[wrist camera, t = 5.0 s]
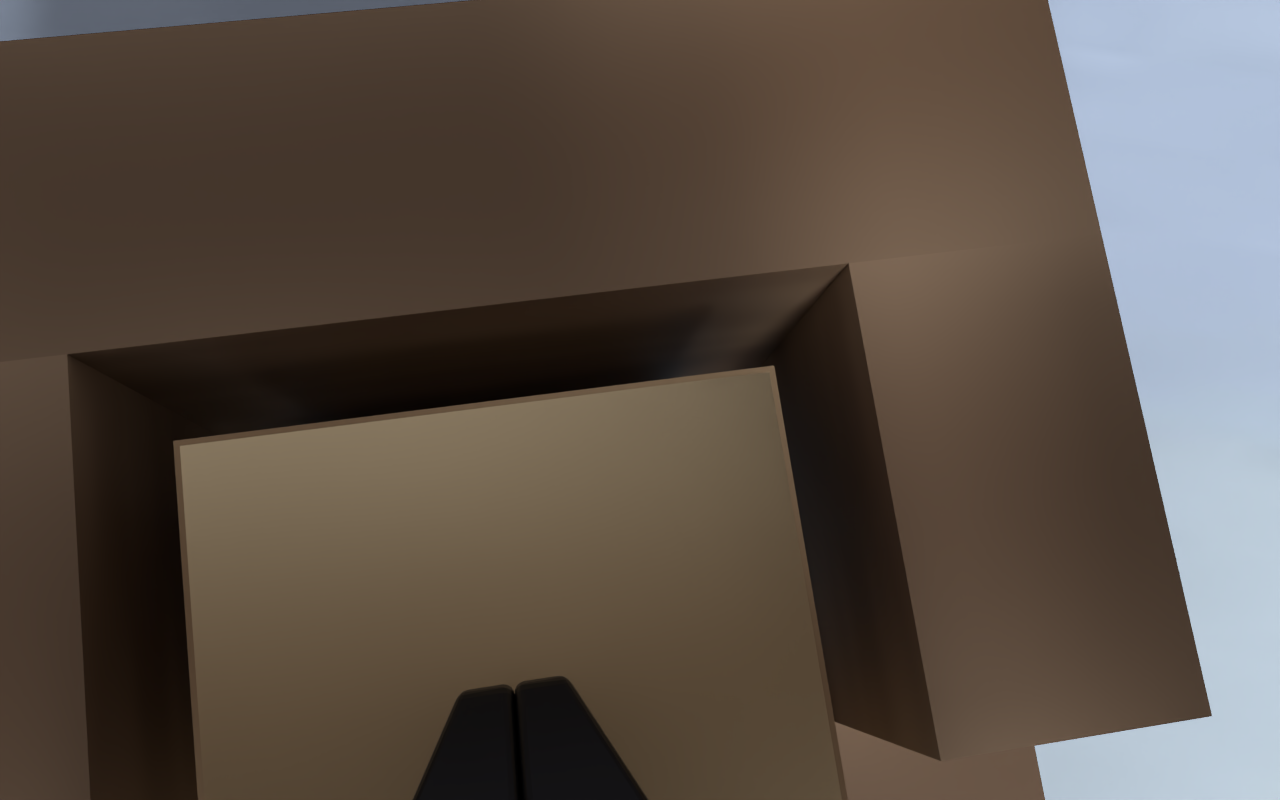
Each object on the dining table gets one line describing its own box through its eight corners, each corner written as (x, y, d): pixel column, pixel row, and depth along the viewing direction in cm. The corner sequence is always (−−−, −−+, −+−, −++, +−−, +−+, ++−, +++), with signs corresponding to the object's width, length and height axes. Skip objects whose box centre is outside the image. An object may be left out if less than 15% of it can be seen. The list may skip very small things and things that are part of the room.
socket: (987, 935, 16) (1317, 1175, 9) (126, 1094, 15) (-241, 1513, 8) (850, 204, 18) (1036, -49, 11) (81, 289, 17) (-243, 62, 10)
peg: (735, 824, 16) (879, 987, 9) (369, 886, 15) (220, 1111, 8) (680, 468, 17) (774, 365, 10) (334, 515, 16) (172, 441, 9)
